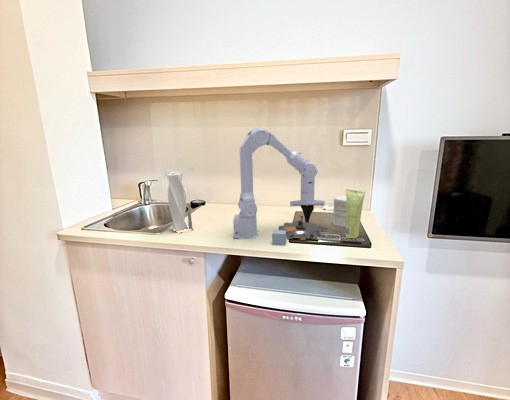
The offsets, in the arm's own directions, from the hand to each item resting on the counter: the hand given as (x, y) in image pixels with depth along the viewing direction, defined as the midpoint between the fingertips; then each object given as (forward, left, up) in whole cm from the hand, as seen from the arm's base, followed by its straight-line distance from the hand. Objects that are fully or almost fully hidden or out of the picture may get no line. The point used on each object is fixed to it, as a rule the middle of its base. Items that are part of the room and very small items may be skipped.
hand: (306, 221), depth 122 cm
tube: (+18, -8, -4) cm, 20 cm away
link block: (-10, -18, -3) cm, 21 cm away
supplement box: (+16, +7, -4) cm, 18 cm away
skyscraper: (-56, -9, -4) cm, 57 cm away
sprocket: (-3, -6, -3) cm, 7 cm away
